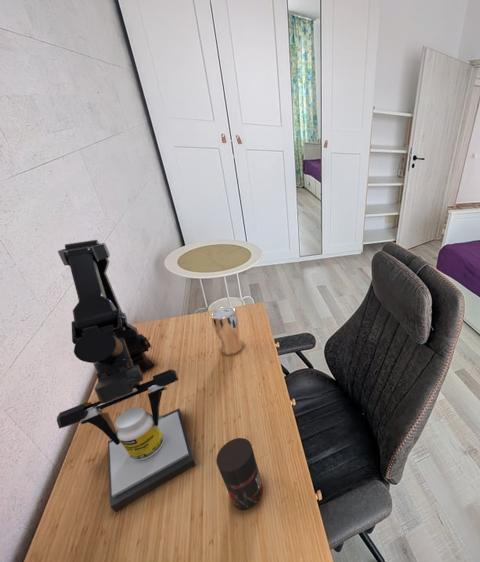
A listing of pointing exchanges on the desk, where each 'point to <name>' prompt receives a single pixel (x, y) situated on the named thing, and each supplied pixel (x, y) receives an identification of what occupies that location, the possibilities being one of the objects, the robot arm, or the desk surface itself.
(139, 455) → the pill bottle
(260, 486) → the deodorant
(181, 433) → the kitchen scale
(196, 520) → the desk surface
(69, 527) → the desk surface
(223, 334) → the beer glass
